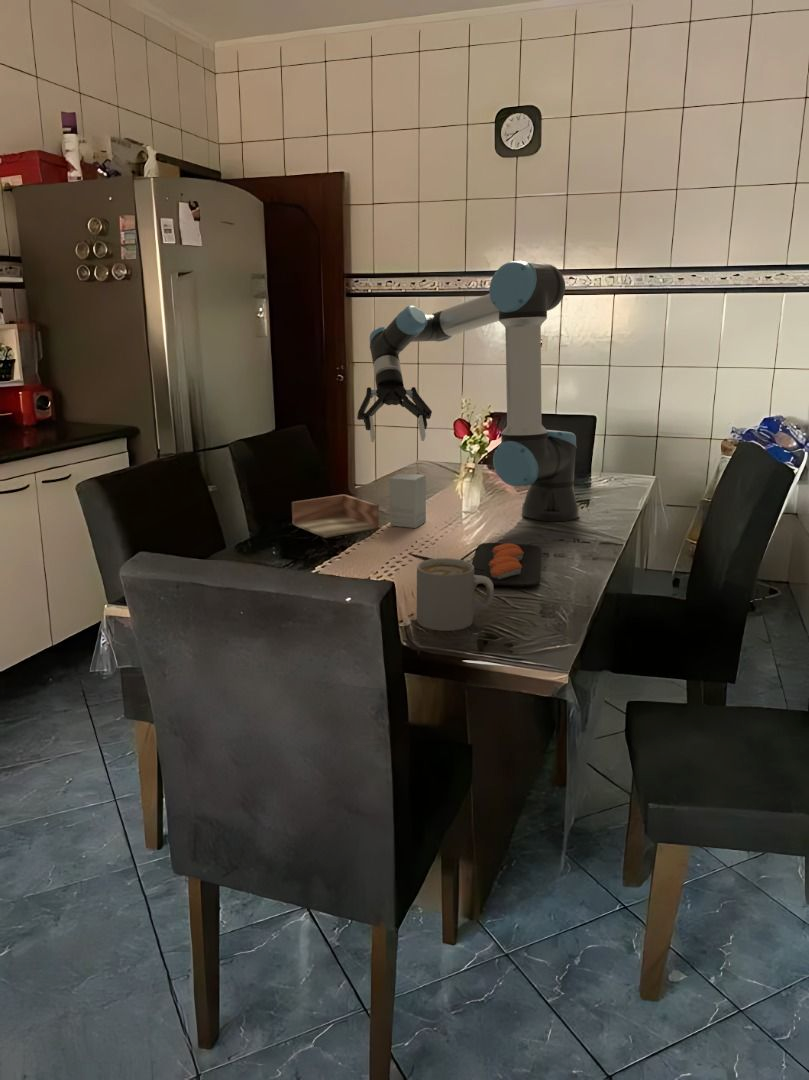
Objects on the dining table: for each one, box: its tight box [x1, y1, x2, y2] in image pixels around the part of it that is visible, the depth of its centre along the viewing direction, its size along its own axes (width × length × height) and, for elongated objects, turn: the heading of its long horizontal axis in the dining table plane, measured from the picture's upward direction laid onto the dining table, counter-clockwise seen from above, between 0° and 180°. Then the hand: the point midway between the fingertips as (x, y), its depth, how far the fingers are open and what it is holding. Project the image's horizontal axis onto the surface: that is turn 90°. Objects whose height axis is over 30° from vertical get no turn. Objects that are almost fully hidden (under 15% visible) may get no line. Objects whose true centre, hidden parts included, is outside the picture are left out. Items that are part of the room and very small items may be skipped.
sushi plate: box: [408, 542, 542, 587], centre depth 173 cm, size 29×30×4 cm
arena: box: [291, 493, 380, 539], centre depth 205 cm, size 16×16×6 cm
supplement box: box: [388, 472, 427, 529], centre depth 206 cm, size 7×7×13 cm
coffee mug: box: [416, 557, 495, 632], centre depth 140 cm, size 13×10×10 cm
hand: (398, 438), depth 213 cm, fingers open, 13 cm apart
